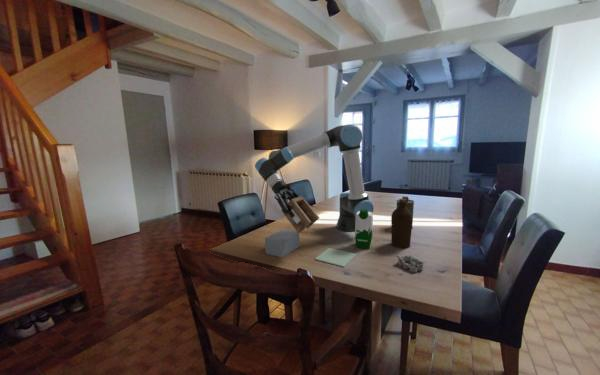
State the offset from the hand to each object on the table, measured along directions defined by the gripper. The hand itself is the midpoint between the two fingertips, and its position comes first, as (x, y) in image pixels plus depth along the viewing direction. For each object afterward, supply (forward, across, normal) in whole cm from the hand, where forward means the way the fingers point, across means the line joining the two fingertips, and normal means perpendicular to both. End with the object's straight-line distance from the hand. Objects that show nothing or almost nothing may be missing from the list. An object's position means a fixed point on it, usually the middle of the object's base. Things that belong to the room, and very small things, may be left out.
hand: (304, 219), depth 129 cm
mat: (+23, -6, -3) cm, 24 cm away
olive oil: (+39, -38, +13) cm, 56 cm away
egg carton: (+46, -14, +19) cm, 52 cm away
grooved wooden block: (+3, 0, -6) cm, 6 cm away
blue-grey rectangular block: (+3, 0, -23) cm, 23 cm away
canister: (+36, -69, +9) cm, 78 cm away
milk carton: (+28, -26, +1) cm, 38 cm away
